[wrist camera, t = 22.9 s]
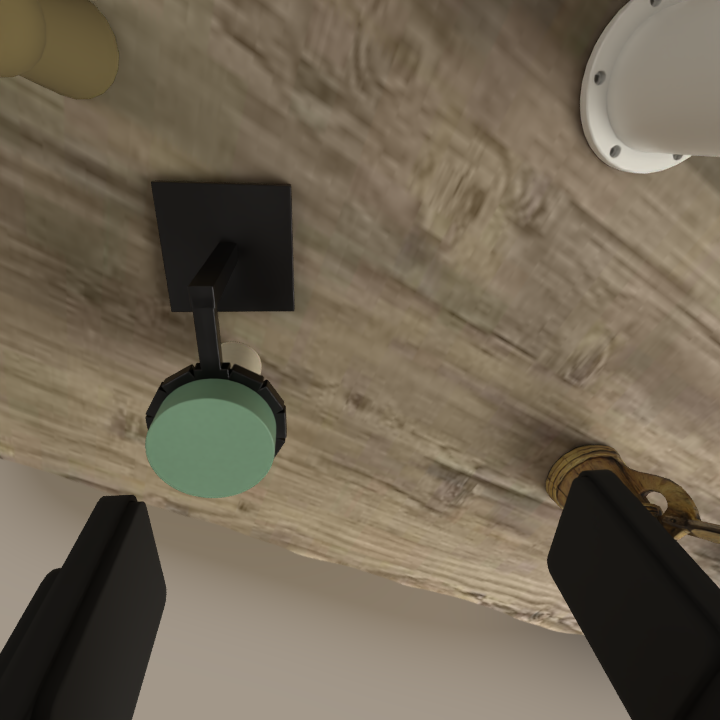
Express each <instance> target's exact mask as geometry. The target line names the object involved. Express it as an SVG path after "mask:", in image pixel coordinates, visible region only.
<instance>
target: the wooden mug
mask: <svg viewBox="0 0 720 720" xmlns="http://www.w3.org/2000/svg"><path fill="white" fill-rule="evenodd" d="M604 469H608V470H611V471H612V472H613V473H615V474H616V475H617V476H618V478H619V479H620V480H621V481H622V482H623V483H624V484H625V485H626V486H627V487H628V489H629V490H630V491H631V492H632V493H633V494H634V495H635V496H636V497H637V498H638V500H639V501H640V502H641V503H642V504H643V505H644V506H645V507H646V508H647V509H648V511H649V512H650V513H651V514H652V515H653V516H654V517H655V518H656V519H657V520H658V522H659V523H660V524H661V525H662V526H663V527H664V528H665V529H666V530H667V531H668V532H669V534H670V535H671V536H672V537H673V538H674V539H675V540H676V541H677V540H679V539H680V538H682V537H683V536H685V535H686V534H687V535H691V536H695V537H698V538H702V539H705V540H708V541H711V542H715V543H718V544H720V525H716V524H712V523H707V522H702V521H701V519H700V516H699V512H698V509H697V507H696V505H695V504H694V502H693V500H692V498H691V497H690V496H689V495H688V494H687V493H686V491H685V490H684V489H683V488H682V487H681V486H679V485H678V484H676V483H675V482H673V481H671V480H670V479H667V478H663V477H660V476H657V475H652V474H647V473H642V472H638V471H635V470H632V469H630V468H629V467H627V466H626V465H625V463H624V462H623V460H622V459H621V457H620V455H619V454H618V452H617V451H616V450H615V449H613V448H611V447H608V446H602V445H585V446H581V447H577V448H575V449H573V450H572V451H570V452H568V453H567V454H565V455H564V456H562V457H561V458H560V459H559V460H558V461H557V462H556V463H555V464H554V465H553V467H552V469H551V471H550V473H549V475H548V477H547V480H546V491H547V493H548V494H549V496H550V497H551V498H552V499H553V500H554V501H555V502H556V504H557V505H558V506H559V507H561V508H562V509H563V508H564V505H565V502H566V499H567V496H568V493H569V490H570V487H571V484H572V481H573V479H575V478H577V477H578V476H579V474H580V472H582V471H585V470H604ZM654 491H655V492H659V493H661V494H662V495H663V496H664V497H665V498H666V500H667V503H668V508H667V510H666V511H665V512H664V513H663V511H662V509H661V508H660V506H657V505H655V504H650V502H649V501H648V499H647V498H646V496H647V495H648V494H649V493H650V492H654Z"/></svg>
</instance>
